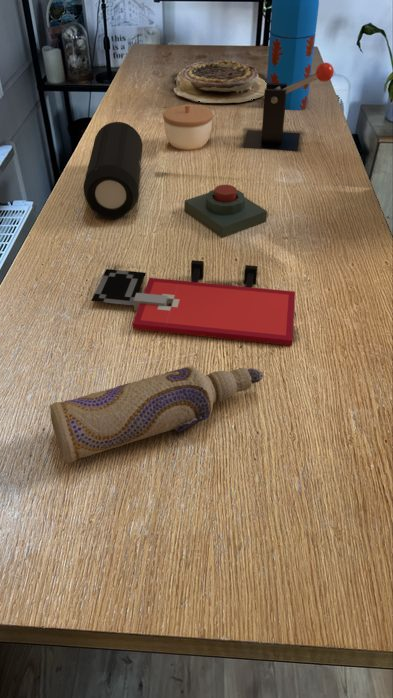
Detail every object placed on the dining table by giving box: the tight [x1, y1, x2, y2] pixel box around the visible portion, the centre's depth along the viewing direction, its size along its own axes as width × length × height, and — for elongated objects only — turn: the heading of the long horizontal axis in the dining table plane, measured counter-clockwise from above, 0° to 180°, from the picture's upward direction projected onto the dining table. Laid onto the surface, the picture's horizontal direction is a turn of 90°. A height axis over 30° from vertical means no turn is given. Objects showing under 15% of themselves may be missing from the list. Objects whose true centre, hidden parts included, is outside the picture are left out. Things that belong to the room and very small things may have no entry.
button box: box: [183, 189, 268, 239], centre depth 108 cm, size 12×10×4 cm
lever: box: [274, 62, 335, 94], centre depth 123 cm, size 14×4×4 cm, turn 80°
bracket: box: [242, 83, 301, 152], centre depth 129 cm, size 12×10×13 cm
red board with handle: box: [90, 259, 296, 346], centre depth 88 cm, size 30×3×15 cm
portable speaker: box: [82, 121, 144, 220], centre depth 113 cm, size 26×10×10 cm, turn 2°
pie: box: [172, 59, 267, 104], centre depth 162 cm, size 28×27×5 cm
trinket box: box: [162, 104, 213, 150], centre depth 129 cm, size 11×11×9 cm
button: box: [213, 184, 238, 203], centre depth 106 cm, size 4×4×2 cm
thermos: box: [266, 0, 320, 112], centre depth 144 cm, size 11×11×25 cm
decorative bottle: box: [49, 365, 264, 463], centre depth 69 cm, size 26×8×7 cm, turn 112°
